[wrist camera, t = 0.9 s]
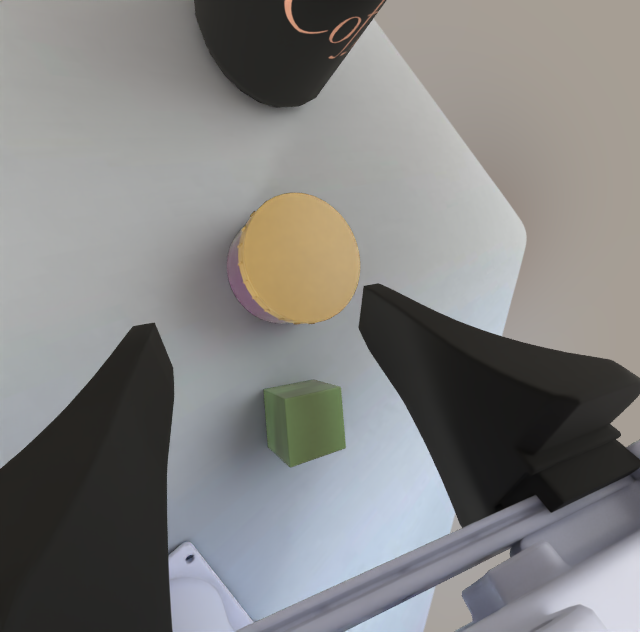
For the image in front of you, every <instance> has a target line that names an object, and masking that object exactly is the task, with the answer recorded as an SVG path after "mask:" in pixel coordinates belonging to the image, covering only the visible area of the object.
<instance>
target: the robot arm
mask: <svg viewBox="0 0 640 632" xmlns="http://www.w3.org/2000/svg"><path fill="white" fill-rule="evenodd" d="M359 330H360V332H361V334H362V337H363V339H364V341H365V343H366V345H367V347H368V349H369V350H370V352H371V354H372V355H373V357H374V358H375V360H376V361H377V363H378V364H379V366H380V367H381V369H382V370H383V372H384V373H385V375H386V376H387V377H388V379H389V380H390V382H391V383H392V385H393V386H394V388H395V389H396V391H397V392H398V394H399V395H400V397H401V399H402V400H403V402H404V403H405V405H406V407H407V409H408V411H409V413H410V415H411V417H412V418H413V420H414V422H415V424H416V426H417V428H418V430H419V432H420V434H421V436H422V438H423V440H424V442H425V444H426V446H427V448H428V450H429V452H430V455H431V457H432V459H433V461H434V463H435V466H436V468H437V470H438V472H439V474H440V476H441V479H442V481H443V483H444V486H445V488H446V491H447V493H448V495H449V498H450V500H451V503H452V505H453V507H454V510H455V513H456V515H457V518H458V520H459V523H460V525H461V526H462V529H459V530H457V531H455V532H452V533H450V534H448V535H446V536H444V537H441V538H439V539H437V540H435V541H433V542H430V543H428V544H426V545H424V546H422V547H419V548H417V549H415V550H413V551H411V552H408V553H406V554H404V555H402V556H400V557H397V558H395V559H393V560H391V561H389V562H386V563H384V564H382V565H380V566H377V567H375V568H373V569H371V570H369V571H366V572H364V573H362V574H360V575H358V576H355V577H353V578H351V579H349V580H347V581H344V582H342V583H340V584H338V585H336V586H333V587H331V588H329V589H327V590H325V591H322V592H320V593H318V594H316V595H314V596H311V597H309V598H307V599H305V600H303V601H300V602H298V603H296V604H294V605H292V606H289V607H287V608H285V609H283V610H280V611H278V612H276V613H274V614H272V615H269V616H267V617H265V618H263V619H261V620H258V621H256V622H253V621H252V619H251V618H250V617H249V615H248V614H247V613H246V612H245V610H244V609H243V608H242V607H241V605H240V604H239V603H238V601H237V600H236V599H235V598H234V596H233V595H232V594H231V593H230V591H229V590H228V589H227V587H226V586H225V585H224V584H223V582H222V581H221V580H220V579H219V577H218V576H217V575H216V573H215V572H214V571H213V570H212V568H211V567H210V566H209V565H208V563H207V562H206V561H205V559H204V558H203V557H202V556H201V554H200V553H199V552H198V551H197V549H196V548H195V547H194V545H193V544H192V543H190V542H184V543H182V544H181V545H180V546H179V547H177V548H176V549H175V550H174V551H173V552H172V553H171V554H170V555H169V556H168V531H167V463H168V453H169V443H170V433H171V424H172V414H173V404H174V376H173V366H172V364H171V361H170V359H169V357H168V354H167V352H166V349H165V347H164V344H163V342H162V339H161V337H160V335H159V332H158V330H157V327H156V325H155V323H149V324H144V325H138V326H133V327H132V328H131V330H130V331H129V332H128V333H127V335H126V336H125V337H124V338H123V340H122V341H121V342H120V344H119V345H118V346H117V348H116V349H115V350H114V351H113V353H112V354H111V355H110V357H109V358H108V359H107V360H106V362H105V363H104V364H103V365H102V367H101V368H100V369H99V370H98V372H97V373H96V374H95V375H94V377H93V378H92V379H91V380H90V381H89V382H88V383H87V385H86V386H85V387H84V388H83V389H82V390H81V391H80V393H79V394H78V395H77V396H76V397H75V398H74V399H73V400H72V402H71V403H70V404H69V405H68V406H67V407H66V408H65V409H64V410H63V411H62V412H61V413H60V414H59V415H58V416H57V417H56V418H55V419H54V420H53V421H52V422H51V423H50V424H49V425H48V426H47V427H46V428H45V429H44V430H43V431H42V432H41V433H40V434H39V435H38V436H37V437H36V438H35V439H34V440H33V441H32V442H31V443H29V444H28V445H27V446H26V447H25V448H24V449H23V450H22V451H21V452H19V453H18V454H17V455H16V456H15V457H14V458H12V459H11V460H10V461H9V462H8V463H7V464H6V465H4V466H3V467H2V468H1V469H0V632H344V631H346V630H348V629H350V628H352V627H354V626H356V625H358V624H360V623H362V622H364V621H366V620H368V619H370V618H372V617H374V616H376V615H378V614H380V613H382V612H384V611H386V610H388V609H390V608H392V607H394V606H396V605H398V604H400V603H402V602H404V601H406V600H408V599H410V598H412V597H414V596H416V595H418V594H420V593H422V592H424V591H426V590H428V589H430V588H432V587H434V586H436V585H438V584H440V583H442V582H444V581H446V580H448V579H450V578H452V577H454V576H456V575H458V574H460V573H462V572H464V571H466V570H468V569H470V568H472V567H474V566H476V565H478V564H480V563H482V562H484V561H486V560H488V559H490V558H492V557H494V556H496V555H498V554H500V553H502V552H504V551H506V550H508V549H510V548H511V549H510V557H511V558H509V559H508V560H506V561H504V562H502V563H501V564H499V565H497V566H496V567H494V568H492V569H490V570H489V571H488V572H487V573H486V574H485V575H484V576H483V577H482V578H480V579H479V580H478V581H476V582H475V583H473V584H472V585H471V586H469V587H468V588H466V589H465V590H463V591H462V597H463V599H464V601H465V603H466V605H467V607H468V608H469V610H470V612H471V614H472V618H473V621H472V622H470V623H469V624H467V625H465V626H463V627H461V628H460V629H458V630H456V631H454V632H640V440H638V441H636V442H634V443H632V444H631V445H629V446H628V447H624V446H623V445H622V444H621V443H620V442H618V441H617V440H616V439H617V438H619V437H620V436H621V433H620V432H619V431H618V430H617V429H616V428H614V427H613V426H612V425H611V424H610V423H611V422H612V421H613V420H614V419H615V418H616V417H617V416H619V415H620V414H621V413H622V412H623V411H624V410H625V409H626V408H627V407H628V406H629V405H630V404H631V403H632V402H633V401H634V400H635V399H636V398H637V397H638V396H639V394H640V378H639V377H638V376H636V375H635V374H633V373H631V372H630V371H629V370H627V369H626V368H624V367H622V366H621V365H619V364H618V363H616V362H614V361H612V360H609V359H603V358H597V357H591V356H585V355H579V354H573V353H567V352H562V351H558V350H553V349H548V348H544V347H539V346H535V345H531V344H527V343H523V342H519V341H516V340H512V339H509V338H505V337H502V336H499V335H495V334H492V333H489V332H486V331H483V330H481V329H478V328H475V327H472V326H470V325H467V324H464V323H462V322H459V321H457V320H454V319H452V318H450V317H448V316H445V315H443V314H441V313H438V312H436V311H434V310H432V309H430V308H428V307H426V306H424V305H422V304H420V303H418V302H416V301H414V300H412V299H410V298H408V297H406V296H404V295H402V294H400V293H398V292H396V291H394V290H392V289H390V288H388V287H386V286H383V285H381V284H373V285H367V286H364V288H363V296H362V305H361V313H360V321H359ZM189 555H193V556H192V558H191V559H189V560H186V558H187V556H189ZM246 625H247V626H246Z"/></svg>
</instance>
